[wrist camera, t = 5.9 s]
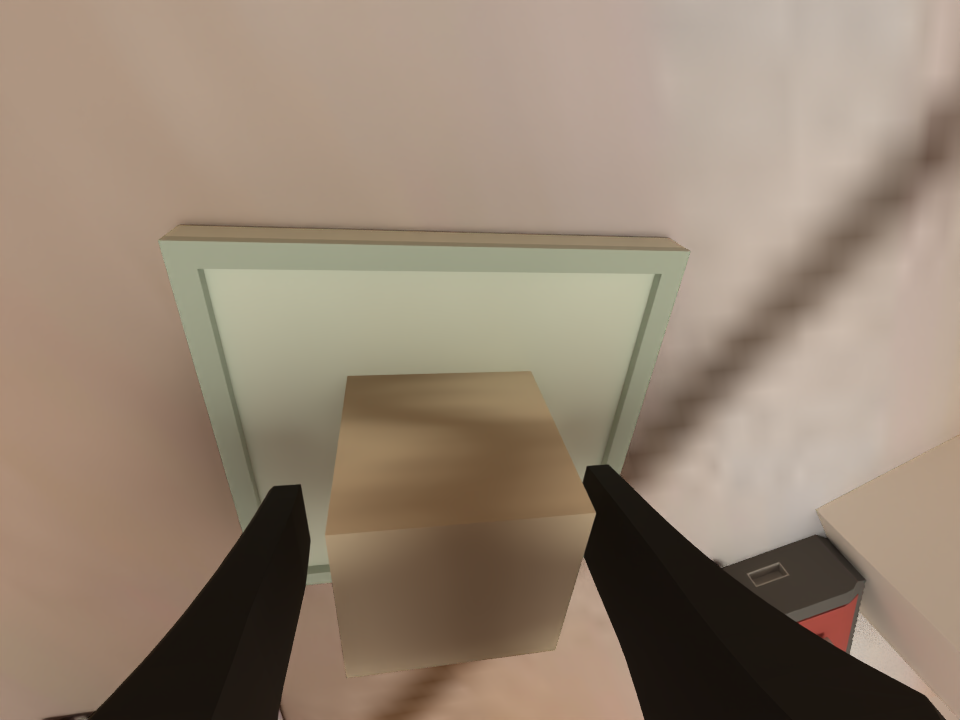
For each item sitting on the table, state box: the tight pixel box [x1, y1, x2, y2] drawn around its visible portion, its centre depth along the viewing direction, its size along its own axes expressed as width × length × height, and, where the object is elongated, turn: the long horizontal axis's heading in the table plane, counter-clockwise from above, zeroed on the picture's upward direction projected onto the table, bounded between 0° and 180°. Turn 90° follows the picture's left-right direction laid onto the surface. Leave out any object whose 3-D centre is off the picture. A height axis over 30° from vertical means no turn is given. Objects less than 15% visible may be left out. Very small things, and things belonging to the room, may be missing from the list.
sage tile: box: [158, 225, 691, 585], centre depth 14 cm, size 12×12×1 cm
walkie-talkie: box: [722, 535, 866, 654], centre depth 25 cm, size 9×4×20 cm
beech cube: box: [325, 371, 596, 678], centre depth 12 cm, size 5×5×5 cm
